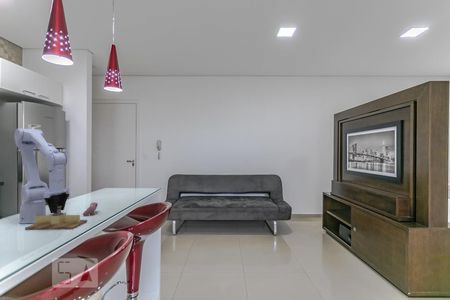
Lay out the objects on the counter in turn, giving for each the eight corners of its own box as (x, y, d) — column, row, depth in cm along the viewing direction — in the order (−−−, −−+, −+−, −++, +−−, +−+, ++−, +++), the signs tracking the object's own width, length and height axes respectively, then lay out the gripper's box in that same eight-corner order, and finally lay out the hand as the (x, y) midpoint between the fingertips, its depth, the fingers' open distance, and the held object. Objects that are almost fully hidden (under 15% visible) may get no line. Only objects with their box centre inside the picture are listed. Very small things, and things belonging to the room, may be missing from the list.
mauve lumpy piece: (90, 219, 132) (97, 206, 133) (81, 215, 131) (88, 202, 132) (94, 214, 142) (100, 202, 143) (85, 211, 140) (92, 199, 141)
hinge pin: (51, 224, 113) (50, 207, 113) (56, 222, 117) (56, 205, 117) (58, 224, 113) (58, 206, 113) (63, 222, 117) (63, 205, 117)
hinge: (30, 225, 112) (30, 216, 112) (41, 221, 118) (40, 212, 118) (75, 225, 112) (75, 215, 112) (83, 221, 118) (83, 212, 118)
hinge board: (25, 229, 110) (25, 227, 110) (43, 222, 121) (43, 220, 121) (73, 229, 110) (73, 226, 110) (87, 222, 121) (87, 219, 121)
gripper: (55, 182, 108) (55, 215, 108) (75, 178, 122) (75, 207, 122) (38, 182, 108) (38, 215, 108) (60, 178, 122) (60, 208, 122)
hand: (57, 211), depth 115 cm, fingers open, 5 cm apart
